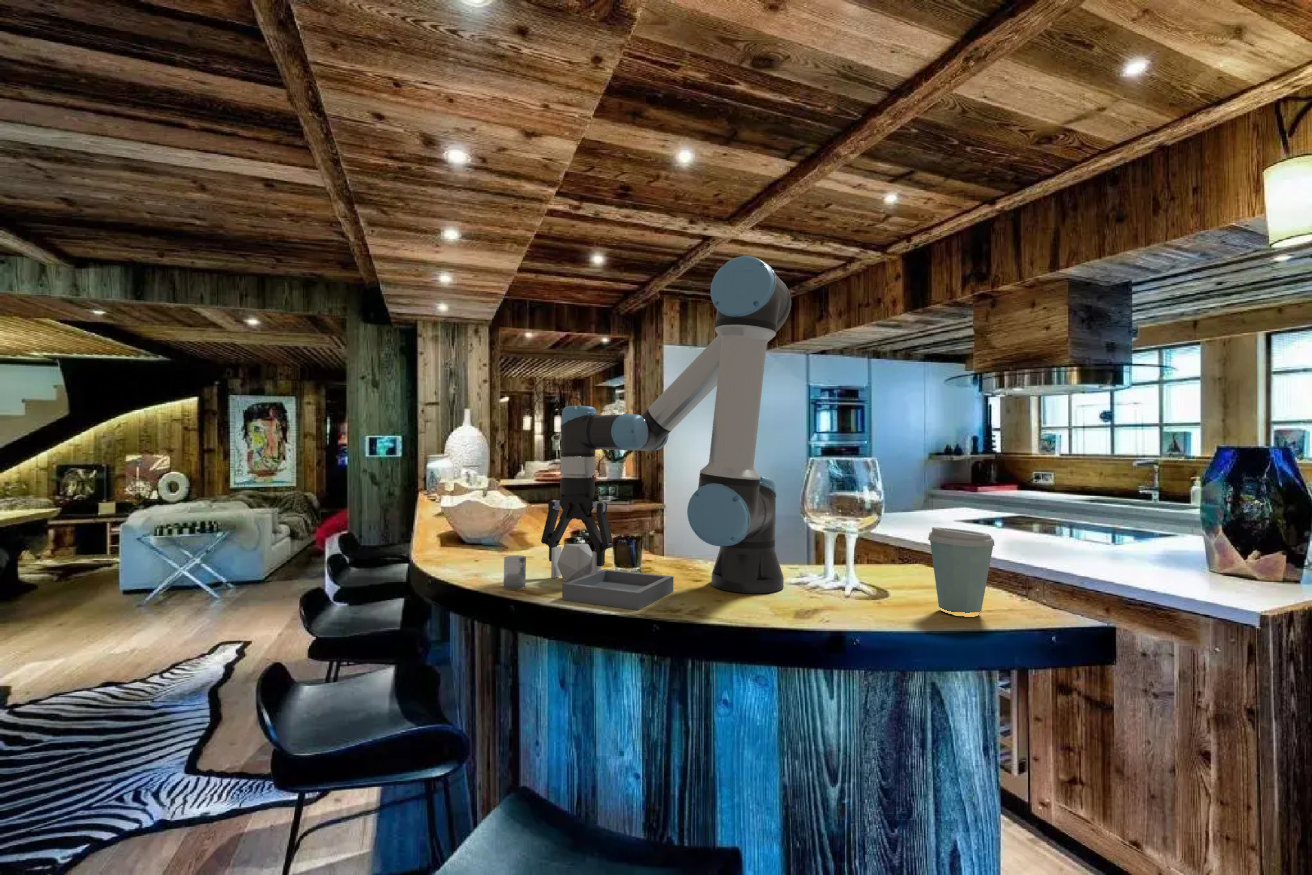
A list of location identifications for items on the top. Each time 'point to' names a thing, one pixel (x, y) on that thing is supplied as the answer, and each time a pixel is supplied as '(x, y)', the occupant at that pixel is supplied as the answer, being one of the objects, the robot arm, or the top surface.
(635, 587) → the slate tray
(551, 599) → the top surface
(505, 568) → the steel jigger
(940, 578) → the disposable coffee cup
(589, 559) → the die
